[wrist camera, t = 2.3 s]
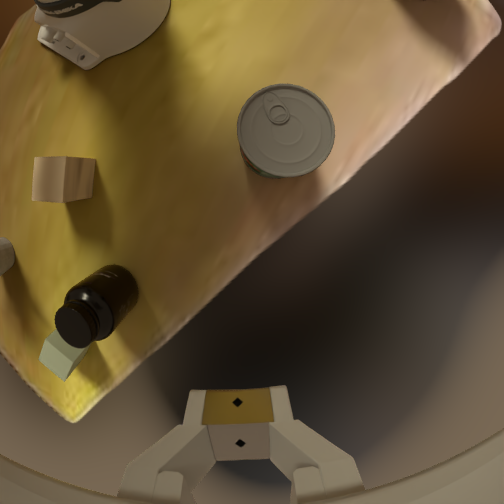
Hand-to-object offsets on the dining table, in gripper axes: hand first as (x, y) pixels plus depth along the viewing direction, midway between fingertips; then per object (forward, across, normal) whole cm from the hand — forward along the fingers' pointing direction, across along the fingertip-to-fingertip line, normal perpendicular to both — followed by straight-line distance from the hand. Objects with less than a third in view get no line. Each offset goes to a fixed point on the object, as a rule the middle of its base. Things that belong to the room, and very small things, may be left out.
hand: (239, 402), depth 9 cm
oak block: (+28, +21, -10) cm, 36 cm away
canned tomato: (+27, -5, -11) cm, 29 cm away
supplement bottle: (+28, +17, +6) cm, 33 cm away
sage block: (+28, +26, +14) cm, 41 cm away
